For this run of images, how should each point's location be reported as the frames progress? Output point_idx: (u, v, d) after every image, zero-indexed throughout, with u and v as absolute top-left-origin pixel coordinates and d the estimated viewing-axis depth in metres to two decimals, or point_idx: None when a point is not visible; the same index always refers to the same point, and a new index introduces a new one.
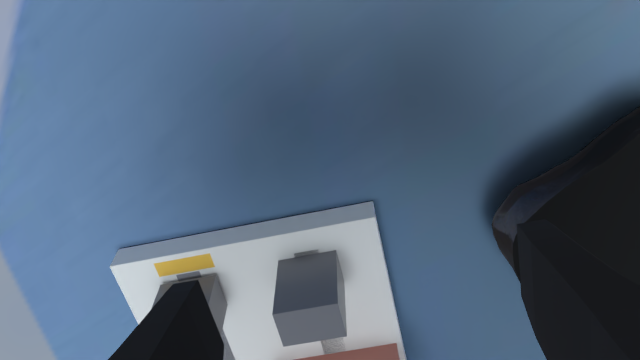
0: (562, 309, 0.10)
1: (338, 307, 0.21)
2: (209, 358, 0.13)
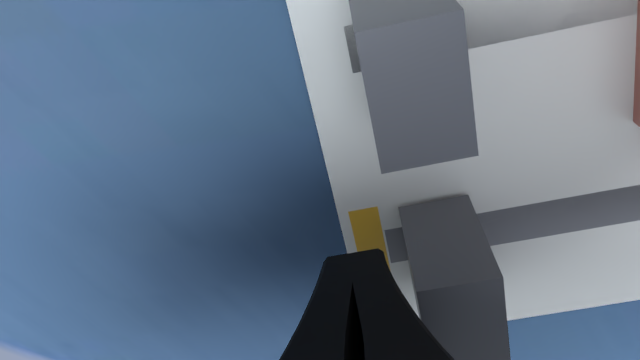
0: None
1: (369, 30, 0.09)
2: None
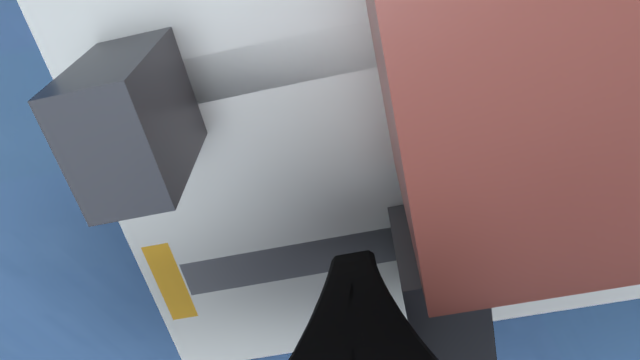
0: None
1: (42, 99, 0.09)
2: None
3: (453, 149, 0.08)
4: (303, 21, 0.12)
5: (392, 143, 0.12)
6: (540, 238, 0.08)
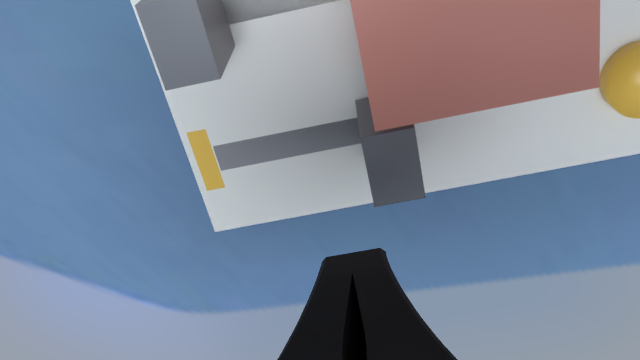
0: None
1: (143, 4, 0.15)
2: None
3: (383, 19, 0.14)
4: None
5: None
6: (436, 76, 0.14)
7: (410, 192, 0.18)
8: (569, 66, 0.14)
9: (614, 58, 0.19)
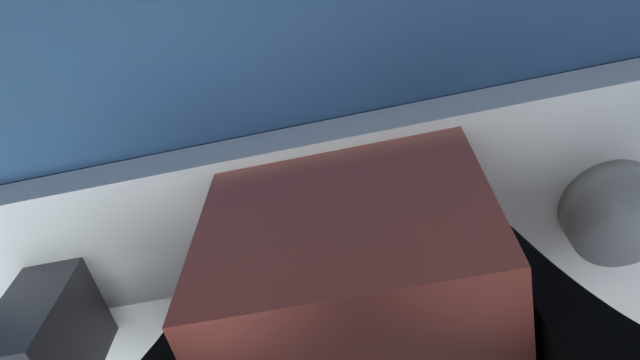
0: None
1: None
2: None
3: None
4: None
5: None
6: None
7: None
8: None
9: None
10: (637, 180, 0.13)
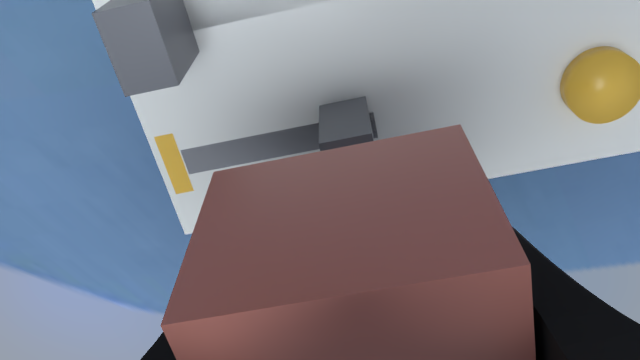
0: None
1: (100, 12, 0.16)
2: None
3: None
4: None
5: None
6: None
7: None
8: None
9: (574, 64, 0.19)
10: None
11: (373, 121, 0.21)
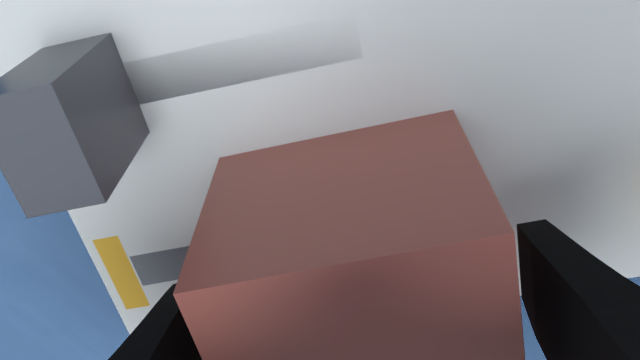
0: (562, 309, 0.10)
1: None
2: None
3: None
4: (233, 27, 0.13)
5: None
6: None
7: None
8: None
9: None
10: None
11: None
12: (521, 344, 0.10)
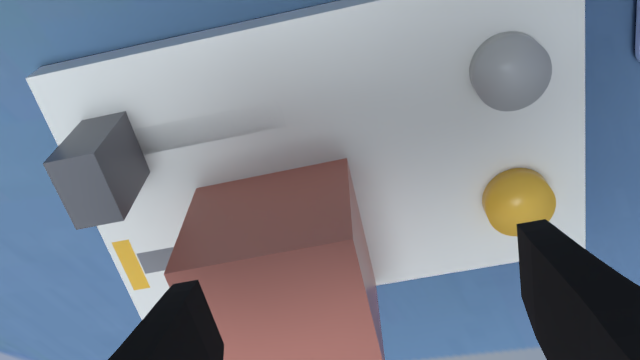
0: (562, 309, 0.10)
1: (50, 162, 0.17)
2: (209, 358, 0.13)
3: None
4: (203, 108, 0.20)
5: None
6: None
7: None
8: None
9: (492, 184, 0.21)
10: (518, 41, 0.18)
11: None
12: (367, 304, 0.18)
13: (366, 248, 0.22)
